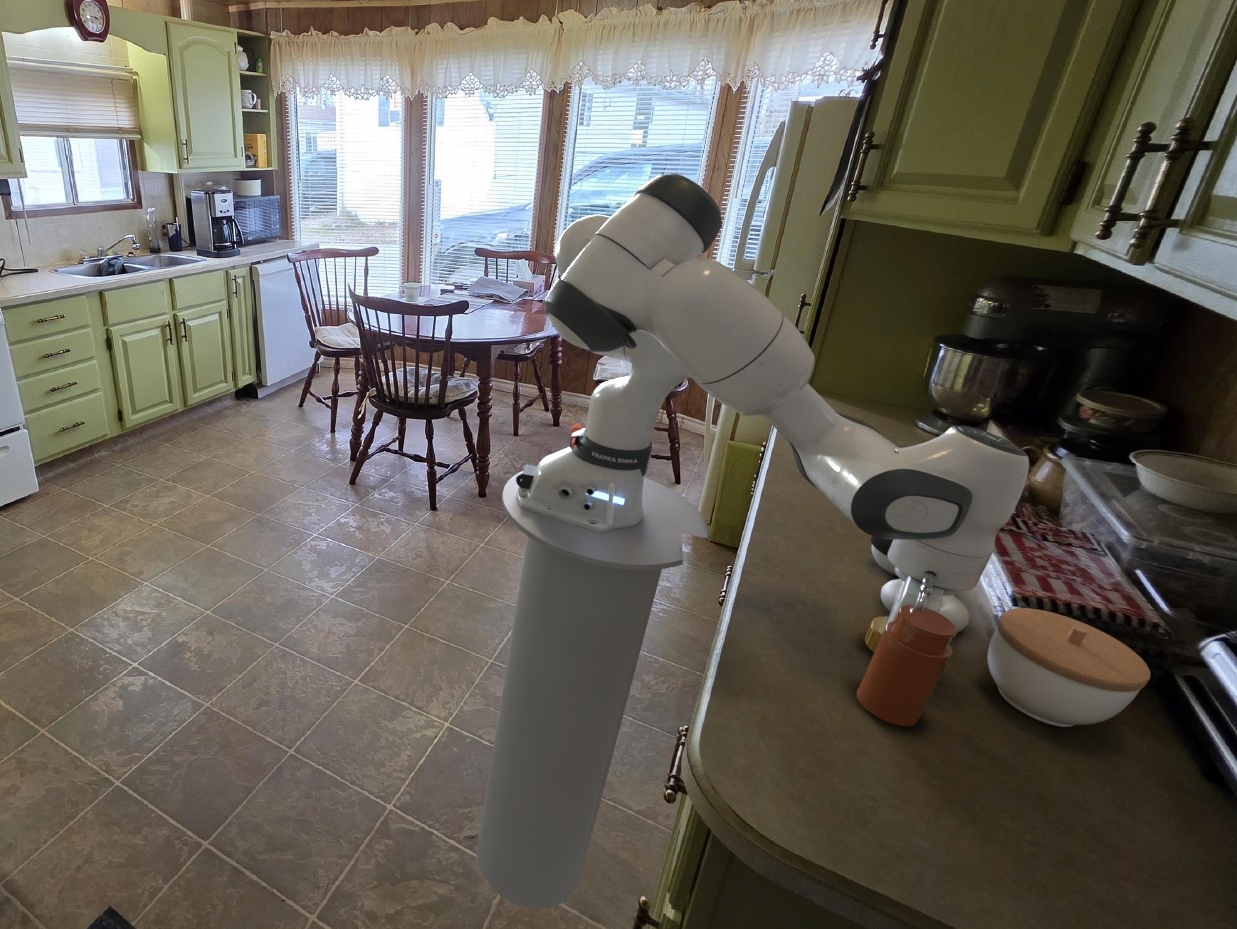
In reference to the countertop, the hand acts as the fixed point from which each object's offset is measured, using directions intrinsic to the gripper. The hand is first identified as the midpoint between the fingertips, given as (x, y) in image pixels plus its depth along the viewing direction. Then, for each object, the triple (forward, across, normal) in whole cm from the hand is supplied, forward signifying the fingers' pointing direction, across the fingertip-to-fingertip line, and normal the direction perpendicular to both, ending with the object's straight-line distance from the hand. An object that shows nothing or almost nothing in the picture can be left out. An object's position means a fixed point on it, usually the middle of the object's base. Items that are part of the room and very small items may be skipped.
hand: (894, 647), depth 87 cm
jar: (+1, -12, -1) cm, 12 cm away
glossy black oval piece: (+1, +24, +2) cm, 24 cm away
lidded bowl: (+1, +2, -14) cm, 14 cm away
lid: (0, 0, 0) cm, 0 cm away
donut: (+1, +13, -2) cm, 13 cm away
